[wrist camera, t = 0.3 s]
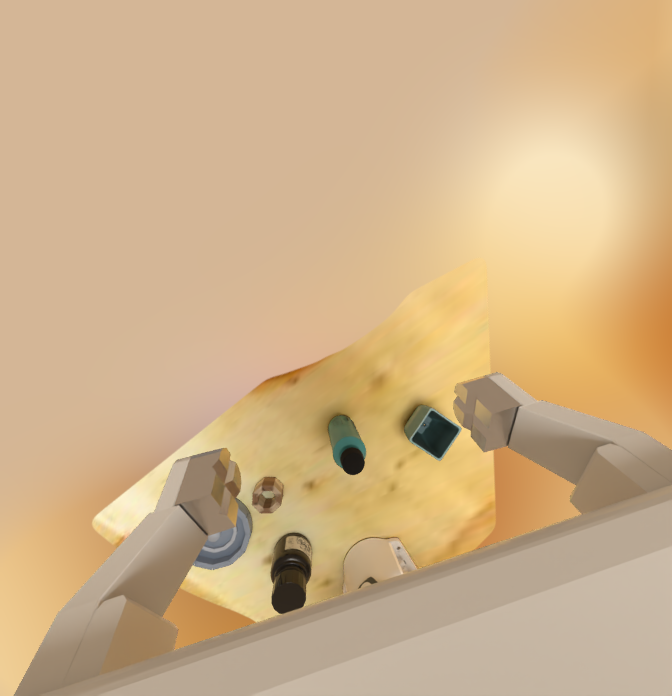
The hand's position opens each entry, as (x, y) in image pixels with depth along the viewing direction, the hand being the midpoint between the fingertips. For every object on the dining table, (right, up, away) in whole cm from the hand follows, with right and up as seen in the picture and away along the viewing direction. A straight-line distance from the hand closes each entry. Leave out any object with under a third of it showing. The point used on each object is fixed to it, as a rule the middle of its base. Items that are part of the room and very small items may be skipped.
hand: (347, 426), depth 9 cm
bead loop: (-16, -32, +53) cm, 64 cm away
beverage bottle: (+1, -16, +54) cm, 57 cm away
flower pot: (+20, -16, +56) cm, 62 cm away
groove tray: (-29, -40, +52) cm, 72 cm away
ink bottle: (-11, -47, +55) cm, 73 cm away
